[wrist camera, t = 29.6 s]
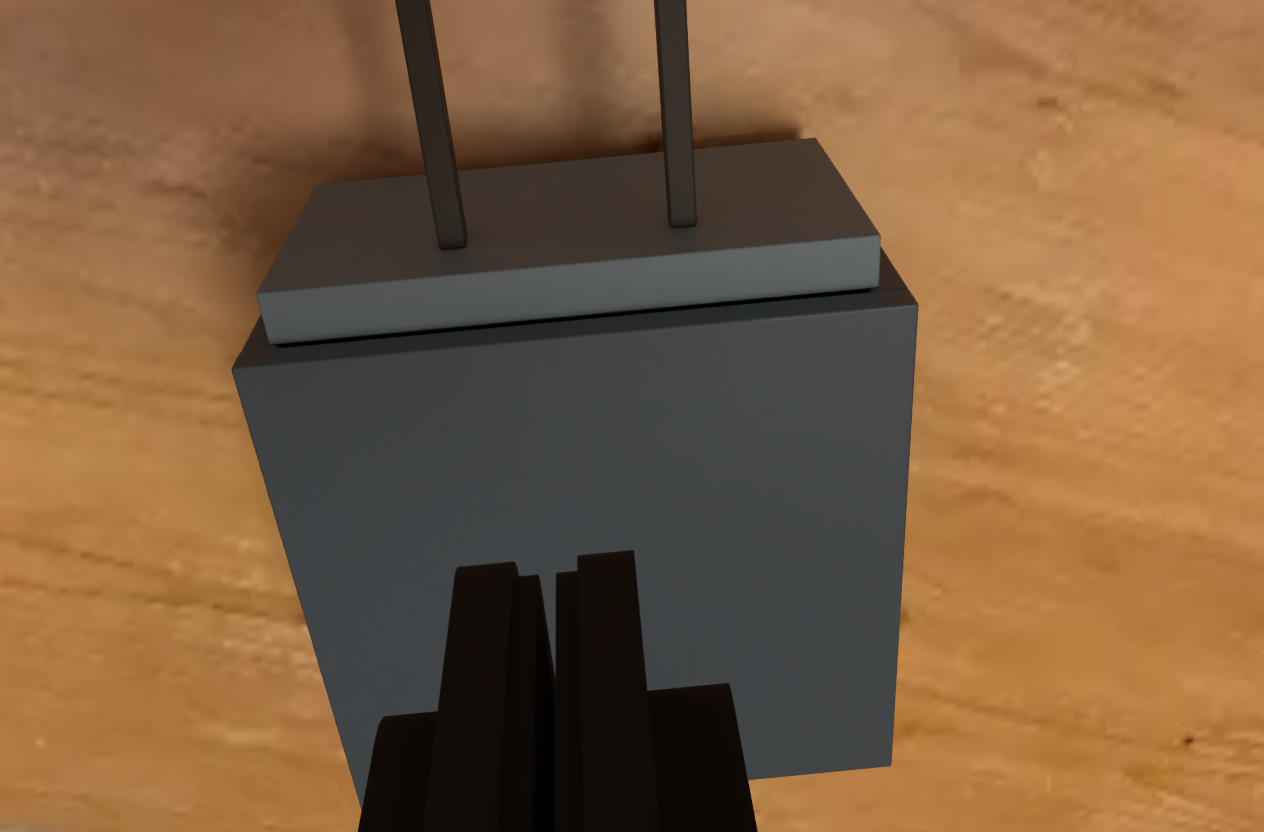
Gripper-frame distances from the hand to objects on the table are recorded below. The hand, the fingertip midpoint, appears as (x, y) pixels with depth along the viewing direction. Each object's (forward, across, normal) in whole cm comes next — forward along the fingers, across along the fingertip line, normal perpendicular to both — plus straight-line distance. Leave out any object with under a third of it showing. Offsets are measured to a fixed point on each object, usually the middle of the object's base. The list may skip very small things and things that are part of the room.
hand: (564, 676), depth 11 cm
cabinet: (+21, 0, +9) cm, 23 cm away
